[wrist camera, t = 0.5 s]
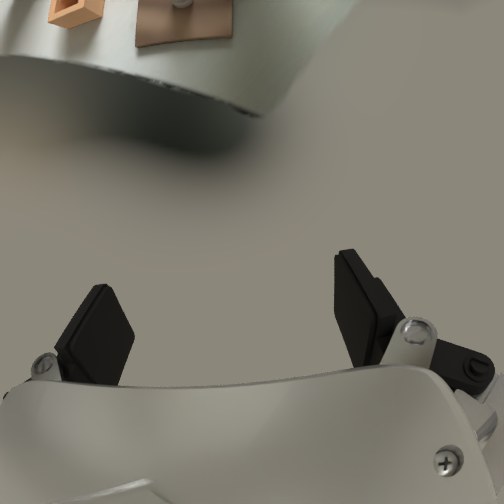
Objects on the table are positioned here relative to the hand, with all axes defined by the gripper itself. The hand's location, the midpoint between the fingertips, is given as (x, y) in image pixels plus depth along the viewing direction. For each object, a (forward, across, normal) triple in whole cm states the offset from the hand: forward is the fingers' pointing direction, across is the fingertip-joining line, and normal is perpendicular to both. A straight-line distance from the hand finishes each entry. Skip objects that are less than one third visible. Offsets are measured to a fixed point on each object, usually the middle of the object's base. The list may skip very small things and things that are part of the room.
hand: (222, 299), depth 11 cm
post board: (+30, +3, -26) cm, 39 cm away
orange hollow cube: (+30, +19, -32) cm, 47 cm away
